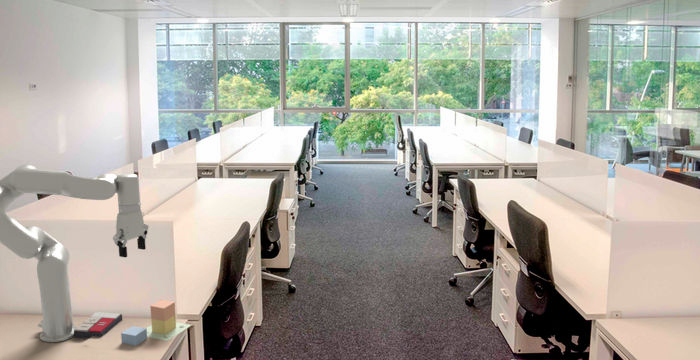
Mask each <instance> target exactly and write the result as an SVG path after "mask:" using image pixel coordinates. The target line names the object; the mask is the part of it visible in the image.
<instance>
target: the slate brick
mask: <svg viewBox="0 0 700 360" xmlns="http://www.w3.org/2000/svg"><path fill="white" fill-rule="evenodd" d="M146 328H147V327H146ZM146 328H145V327H139V326H135V325H134V326H133V325H132V326H130V327H128V328H127V329H125V330H124V331H122V332H120V336H121V337H120V338H121V344H124V345H125V344H126V345H130V346H131V345H132V346H135V347H136V346H138V345H139V344H141V343H143V341H145V340H147V339H148V337H147V329H146Z"/></svg>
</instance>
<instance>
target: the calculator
mask: <svg viewBox="0 0 700 360" xmlns="http://www.w3.org/2000/svg"><path fill="white" fill-rule="evenodd" d="M122 321H123V314H122V313H118V312H117V313H114V312H113V313H112V312H103V311H102V312H99V311H96V312H94V313H93V314H92V315H91V316H89V317H88V318H86V319H85V321H83V322H82V323H81V324H79V325H78V326H77V328H76V329H75V330H74V339H84V340H85V339H86V340H89V339H90V338H92V337H103V336H105V335H106V334H107V333H108V332H109V331H111V330H112V329H113V328H114V327H116V326H117V325H118V324H119V323H121V322H122Z"/></svg>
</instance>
